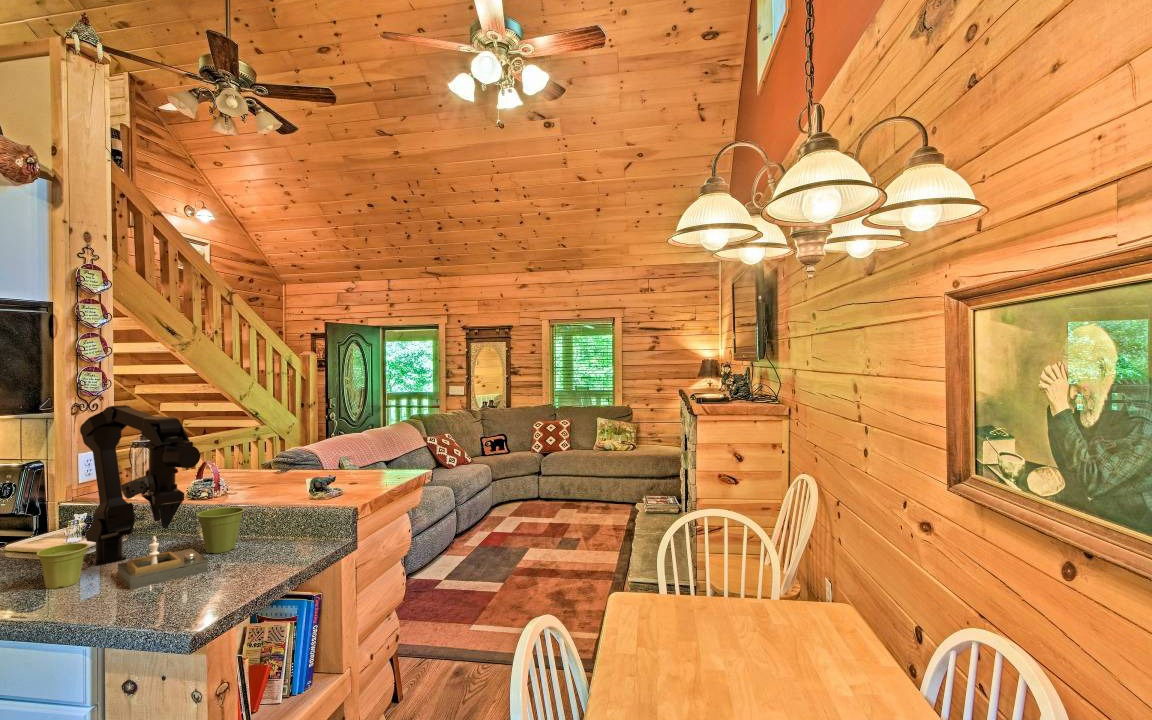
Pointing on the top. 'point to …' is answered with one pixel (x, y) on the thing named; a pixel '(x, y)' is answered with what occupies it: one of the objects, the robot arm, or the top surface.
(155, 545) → the chess piece
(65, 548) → the plant pot
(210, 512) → the plant pot
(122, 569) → the grey hollow block
